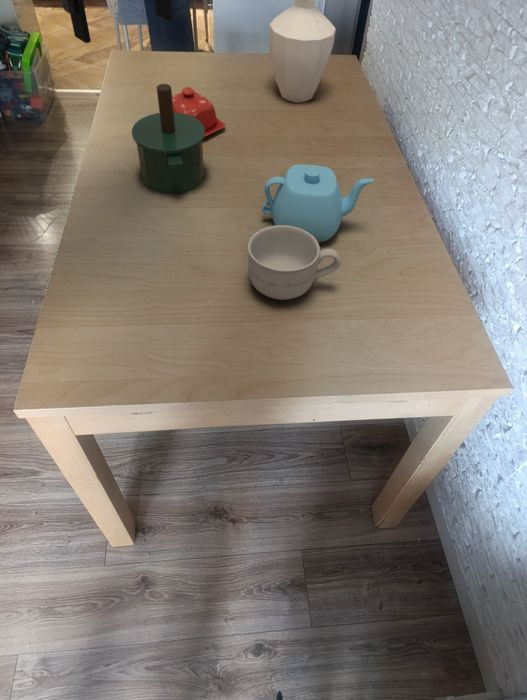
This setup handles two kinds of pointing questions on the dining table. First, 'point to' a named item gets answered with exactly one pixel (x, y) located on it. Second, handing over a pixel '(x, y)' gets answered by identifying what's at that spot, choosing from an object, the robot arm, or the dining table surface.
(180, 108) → the butter dish
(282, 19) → the vase
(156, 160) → the pot
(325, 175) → the teapot
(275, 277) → the teacup
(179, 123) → the pot lid
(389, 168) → the dining table surface
